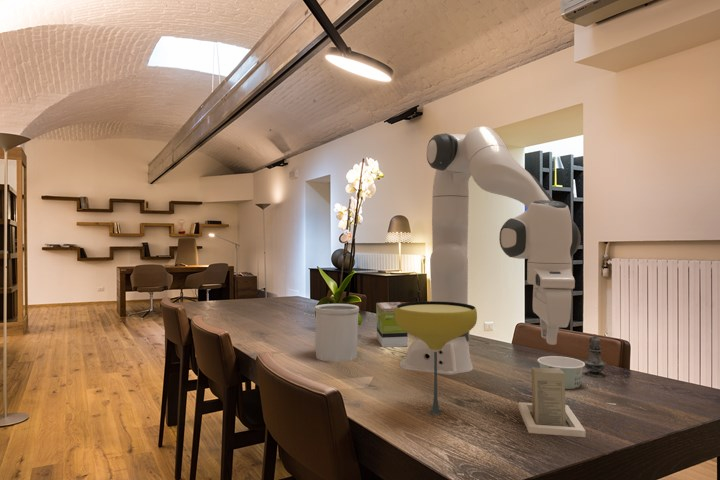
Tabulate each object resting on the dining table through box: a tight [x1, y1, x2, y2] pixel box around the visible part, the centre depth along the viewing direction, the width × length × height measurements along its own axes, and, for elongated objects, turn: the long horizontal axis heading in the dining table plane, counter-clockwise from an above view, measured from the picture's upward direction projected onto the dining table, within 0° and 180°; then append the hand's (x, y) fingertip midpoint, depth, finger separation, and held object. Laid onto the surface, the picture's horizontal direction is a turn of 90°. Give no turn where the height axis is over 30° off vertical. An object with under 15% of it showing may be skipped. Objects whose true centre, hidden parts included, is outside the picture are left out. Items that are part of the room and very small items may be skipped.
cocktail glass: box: [395, 300, 478, 415], centre depth 107 cm, size 18×18×25 cm
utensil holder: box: [314, 303, 360, 363], centre depth 159 cm, size 15×15×18 cm
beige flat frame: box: [518, 401, 587, 438], centre depth 101 cm, size 11×14×2 cm
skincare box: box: [531, 366, 567, 427], centre depth 102 cm, size 6×4×12 cm
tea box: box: [375, 301, 409, 348], centre depth 183 cm, size 15×10×15 cm
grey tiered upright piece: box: [583, 333, 607, 378], centre depth 139 cm, size 6×6×12 cm
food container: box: [537, 355, 586, 390], centre depth 130 cm, size 12×12×6 cm
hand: (548, 341), depth 101 cm, fingers open, 4 cm apart
